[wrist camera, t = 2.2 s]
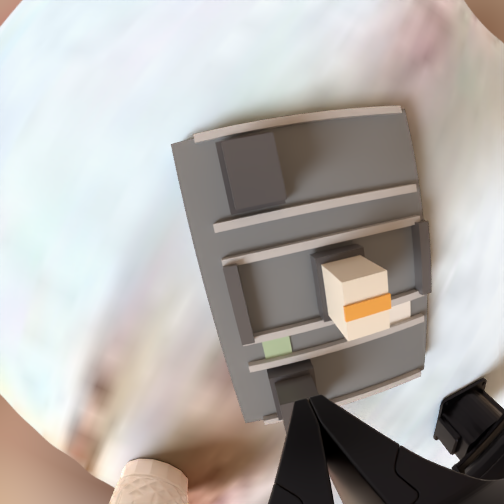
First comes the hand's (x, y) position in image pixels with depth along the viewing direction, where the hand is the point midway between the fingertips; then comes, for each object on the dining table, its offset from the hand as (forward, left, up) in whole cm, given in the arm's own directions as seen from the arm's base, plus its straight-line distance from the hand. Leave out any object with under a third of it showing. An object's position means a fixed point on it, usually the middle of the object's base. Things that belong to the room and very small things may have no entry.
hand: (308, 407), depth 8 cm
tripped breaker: (-4, 0, -11) cm, 12 cm away
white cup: (+15, +18, -13) cm, 27 cm away
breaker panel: (-4, 0, -12) cm, 13 cm away
